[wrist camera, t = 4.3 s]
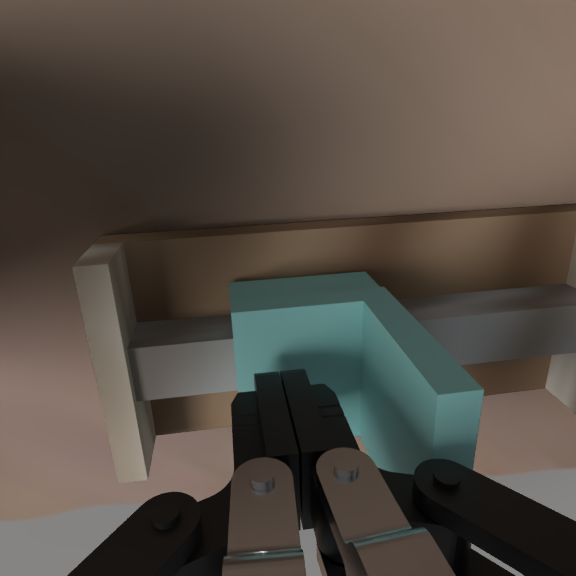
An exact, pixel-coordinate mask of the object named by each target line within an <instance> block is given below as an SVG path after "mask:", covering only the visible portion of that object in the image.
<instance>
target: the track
mask: <svg viewBox="0 0 576 576" xmlns="http://www.w3.org/2000/svg"><path fill="white" fill-rule="evenodd" d="M72 271H73V276H74V280H75V285H76V290H77V294H78V299H79V304H80V308H81V313H82V317H83V322H84V327H85V331H86V336H87V341H88V345H89V350H90V355H91V359H92V364H93V368H94V373H95V378H96V382H97V387H98V392H99V396H100V401H101V405H102V410H103V415H104V419H105V424H106V429H107V433H108V438H109V442H110V447H111V452H112V456H113V461H114V466H115V470H116V475H117V479H118V484H121V483H128V482H136V481H143V480H148V476H149V471H150V465H151V460H152V454H153V449H154V443H155V438H156V435H164V434H173V433H181V432H189V431H197V430H205V429H214V428H222V427H230V426H232V416H231V403H232V401H233V400H234V398H235V396H236V395H237V393H238V388H237V377H236V365H235V353H234V342H233V330H232V319H231V307H230V294H229V283H230V282H242V281H255V280H267V279H279V278H291V277H303V276H315V275H327V274H340V273H352V272H364V271H365V272H366V273H367V274H368V275H369V276H370V277H371V278H372V279H373V280H374V281H375V282H376V283H377V284H378V285H379V286H380V287H385V288H386V289H387V290H388V291H389V292H390V293H391V294H392V295H393V296H394V297H395V298H396V299H397V300H398V301H399V303H400V304H401V305H402V306H403V307H404V308H405V309H406V310H407V311H408V312H409V313H410V314H411V315H412V316H413V317H414V318H415V319H416V320H417V321H418V322H419V323H420V324H421V325H422V326H423V327H424V328H425V329H426V330H427V331H428V332H429V333H430V334H431V335H432V336H433V337H434V338H435V340H436V341H437V342H438V343H439V344H440V345H441V346H442V347H443V348H444V349H445V350H446V351H447V352H448V353H449V354H450V355H451V356H452V357H453V358H454V359H455V360H456V361H457V362H458V363H459V364H460V365H461V366H462V367H463V368H464V369H465V370H466V371H467V372H468V373H469V374H470V375H471V377H472V378H473V379H474V380H475V381H476V382H477V383H478V384H479V385H480V386H481V387H482V388H483V389H484V394H483V396H485V395H493V394H501V393H510V392H518V391H526V390H534V389H542V388H546V389H547V390H548V391H549V392H550V393H552V394H553V395H554V396H555V397H556V398H558V399H559V400H560V401H561V402H562V403H564V404H565V405H566V406H567V407H568V408H570V409H571V410H572V411H573V412H574V413H576V204H565V205H550V206H535V207H520V208H505V209H490V210H475V211H460V212H446V213H431V214H416V215H401V216H386V217H371V218H356V219H342V220H327V221H312V222H297V223H282V224H267V225H252V226H238V227H223V228H208V229H193V230H178V231H163V232H148V233H133V234H119V235H104V236H100V237H99V238H98V239H97V240H96V241H95V242H94V243H93V244H92V246H91V247H90V248H89V249H88V250H87V251H86V252H85V253H84V254H83V255H82V256H81V257H80V258H79V259H78V261H77V262H76V263H75V264H74V265H73V266H72Z"/></svg>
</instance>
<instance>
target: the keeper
mask: <svg viewBox="0 0 576 576" xmlns="http://www.w3.org/2000/svg"><path fill="white" fill-rule="evenodd" d="M229 294H230V307H231V319H232V330H233V342H234V353H235V365H236V377H237V388H238V393H239V392H248V391H255V386H254V374H255V373H265V372H275V371H279V375H280V371H284V370H294V369H305V371H306V373H307V376H308V379H309V382H310V385H314V384H323V383H324V384H325V385H326V386H328V387H329V388H330V389H331V390H333V391H334V392H335V393H336V396H337V398H338V400H339V403H340V407H342V410H343V412H344V416H345V417H346V419H347V421H348V424H349V426H350V428H351V431H352V433H353V435H354V436H360V437H361V439H362V442H363V444H364V446H365V448H366V451H367V453H368V455H369V457H370V458H371V459H372V460H373V461H374V463H375V465H376V466H377V467H378V468H380V469H383V470H386V471H390V472H396V473H404V474H412V475H414V471H415V469H416V467H417V466H418V465H419V464H420V463H422V462H423V461H426V460H429V459H438V458H439V459H447V460H451V461H454V462H457V463H459V464H461V465H463V466H465V467H467V468H469V469H471V470H473V464H474V457H475V450H476V443H477V436H478V429H479V422H480V415H481V408H482V401H483V394H484V389H483V388H482V387H481V386H480V385H479V384H478V383H477V382H476V381H475V380H474V379H473V378H472V377H471V375H470V374H469V373H468V372H467V371H466V370H465V369H464V368H463V367H462V366H461V365H460V364H459V363H458V362H457V361H456V360H455V359H454V358H453V357H452V356H451V355H450V354H449V353H448V352H447V351H446V350H445V349H444V348H443V347H442V346H441V345H440V344H439V343H438V342H437V341H436V340H435V338H434V337H433V336H432V335H431V334H430V333H429V332H428V331H427V330H426V329H425V328H424V327H423V326H422V325H421V324H420V323H419V322H418V321H417V320H416V319H415V318H414V317H413V316H412V315H411V314H410V313H409V312H408V311H407V310H406V309H405V308H404V307H403V306H402V305H401V304H400V303H399V301H398V300H397V299H396V298H395V297H394V296H393V295H392V294H391V293H390V292H389V291H388V290H387V289H386V288H385V287H380V286H379V285H378V284H377V283H376V282H375V281H374V280H373V279H372V278H371V277H370V276H369V275H368V274H367V273H366V272H365V271H364V272H352V273H340V274H327V275H315V276H303V277H291V278H279V279H267V280H255V281H242V282H230V283H229Z"/></svg>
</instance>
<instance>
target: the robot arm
mask: <svg viewBox="0 0 576 576" xmlns="http://www.w3.org/2000/svg"><path fill="white" fill-rule="evenodd" d="M254 386H255V391H248V392H239V393H237V395H236V396H235V398H234V400H233V401H232V403H231V416H232V434H233V453H234V473H233V476H232V478H231V480H230V482H229V483H228V484H227V486H226V487H225V488H224V489H222V490H221V491H220V492H218V493H217V494H215V495H213V496H211V497H209V498H206V499H204V500H201V501H199V502H197V501H196V500H195V499H194V498H193V497H192V496H190V495H188V494H185V493H181V492H168V493H163V494H160V495H157V496H155V497H153V498H151V499H150V500H148V501H146V502H145V503H144V504H143V505H142V506H141V507H139V509H137V510H136V511H135V512H134V513H133V514H132V515H131V516H130V517H129V518H128V519H127V520H126V521H125V522H124V523H123V524H122V525H120V526H119V527H118V528H117V529H116V530H115V531H114V532H113V533H112V534H111V535H110V536H109V537H108V538H107V539H106V540H104V542H102V543H101V544H100V545H99V546H98V547H97V548H96V549H95V550H94V551H93V552H92V553H91V554H90V555H89V556H88V557H86V558H85V559H84V560H83V561H82V562H81V563H80V564H79V565H78V566H77V567H76V568H75V569H74V570H73V571H72V572H71V573H69V574H68V576H306V569H305V561H304V554H303V550H302V549H301V545H300V536H299V530H300V517H301V522H302V527H303V530H304V529H311V528H314V531H315V536H316V541H317V561H318V564H319V567H320V570H321V574H322V576H515V575H514V574H512V573H510V572H508V571H507V570H505V569H504V568H502V567H500V566H499V565H497V564H496V563H494V562H492V561H490V560H489V559H487V558H485V557H484V556H482V555H481V554H479V553H478V552H476V551H474V550H473V549H471V543H472V544H474V545H476V546H477V547H479V548H480V549H482V550H484V551H485V552H487V553H489V554H490V555H492V556H494V557H495V558H497V559H499V560H500V561H502V562H504V563H505V564H507V565H509V566H510V567H512V568H514V569H515V570H517V571H519V572H520V573H522V574H523V575H524V576H576V521H574V520H572V519H570V518H568V517H566V516H564V515H562V514H560V513H558V512H555V511H554V510H552V509H550V508H548V507H546V506H544V505H542V504H540V503H538V502H536V501H534V500H532V499H530V498H528V497H526V496H524V495H522V494H520V493H518V492H515V491H513V490H512V489H510V488H508V487H505V486H503V485H501V484H499V483H497V482H495V481H493V480H491V479H489V478H487V477H485V476H483V475H481V474H479V473H477V472H475V471H473V470H471V469H469V468H467V467H465V466H463V465H461V464H459V463H457V462H454V461H451V460H447V459H439V458H438V459H429V460H426V461H423V462H422V463H420V464H419V465H418V466H417V467H416V469H415V471H414V475H412V474H404V473H396V472H390V471H386V470H383V469H380V468H378V467H377V466H376V465H375V463H374V461H373V460H372V459H371V458H370V457H369V456H368V455H367V454H365V453H363V452H362V451H360V449H359V447H358V445H357V442H356V440H355V438H354V435H353V433H352V431H351V428H350V426H349V424H348V421H347V419H346V417H345V416H344V412H343V410H342V407H340V403H339V400H338V398H337V396H336V393H335V392H334V391H333V390H331V389H330V388H329V387H328V386H326V385H325V384H324V383H323V384H314V385H310V382H309V379H308V376H307V373H306V371H305V369H294V370H284V371H280V375H279V371H275V372H265V373H255V374H254Z"/></svg>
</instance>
